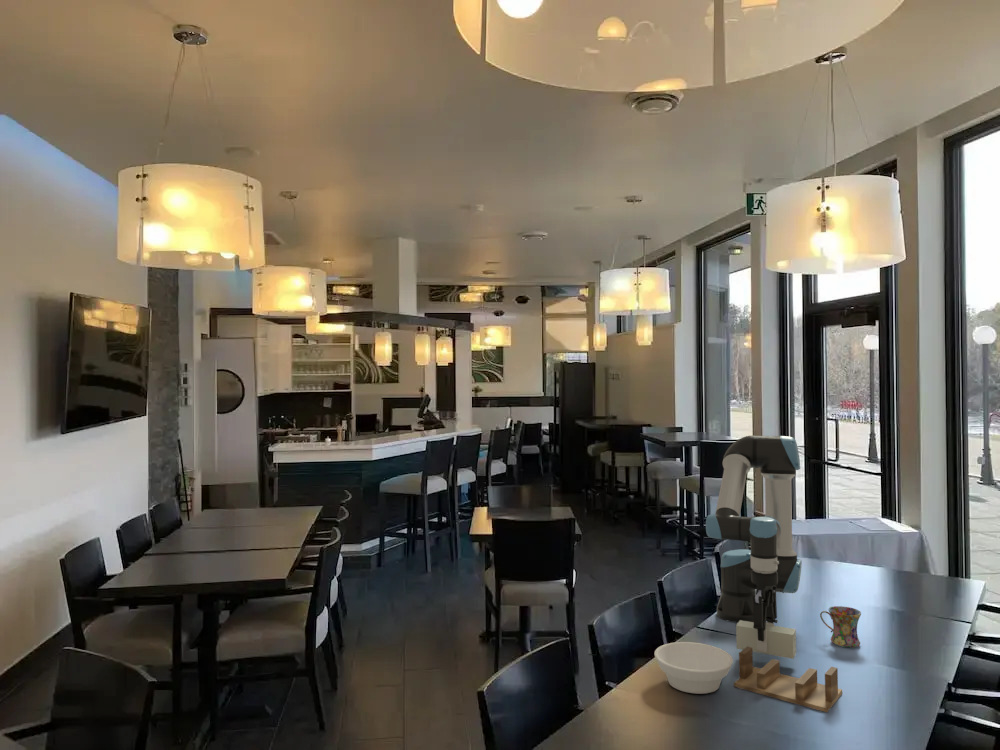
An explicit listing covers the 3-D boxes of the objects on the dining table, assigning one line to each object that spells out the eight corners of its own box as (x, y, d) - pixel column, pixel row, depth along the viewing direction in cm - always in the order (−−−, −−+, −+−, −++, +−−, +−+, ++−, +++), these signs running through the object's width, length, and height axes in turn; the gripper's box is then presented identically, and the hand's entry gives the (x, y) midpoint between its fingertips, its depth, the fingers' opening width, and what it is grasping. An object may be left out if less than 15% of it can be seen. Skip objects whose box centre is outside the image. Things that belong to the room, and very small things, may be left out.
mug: (864, 643, 219) (864, 609, 219) (858, 652, 212) (857, 617, 212) (824, 635, 226) (823, 602, 227) (816, 643, 219) (816, 610, 219)
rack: (733, 686, 189) (733, 657, 189) (752, 670, 199) (752, 642, 199) (827, 712, 173) (826, 680, 173) (842, 693, 184) (841, 663, 184)
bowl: (722, 709, 176) (722, 677, 176) (643, 691, 187) (643, 661, 187) (741, 679, 193) (741, 650, 194) (668, 664, 205) (668, 636, 205)
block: (736, 648, 207) (736, 625, 207) (740, 642, 212) (739, 620, 212) (793, 658, 199) (793, 634, 199) (796, 652, 203) (795, 629, 203)
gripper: (765, 579, 196) (767, 661, 196) (787, 565, 210) (789, 640, 210) (739, 575, 201) (741, 654, 201) (762, 561, 215) (764, 635, 215)
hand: (766, 647), depth 205 cm, fingers closed on block, 5 cm apart
